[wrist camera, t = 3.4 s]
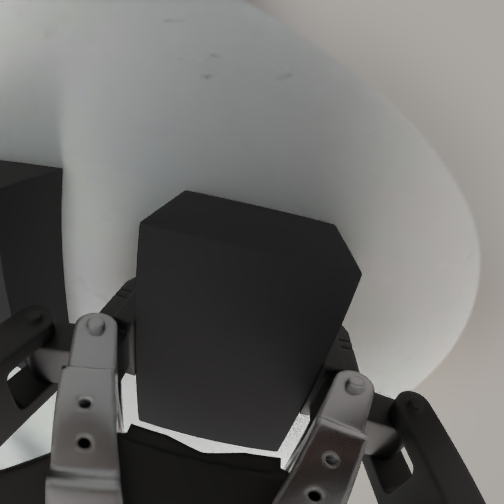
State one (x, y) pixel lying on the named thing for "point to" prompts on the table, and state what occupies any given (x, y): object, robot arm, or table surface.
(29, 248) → the pad
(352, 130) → the table surface
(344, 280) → the pad
